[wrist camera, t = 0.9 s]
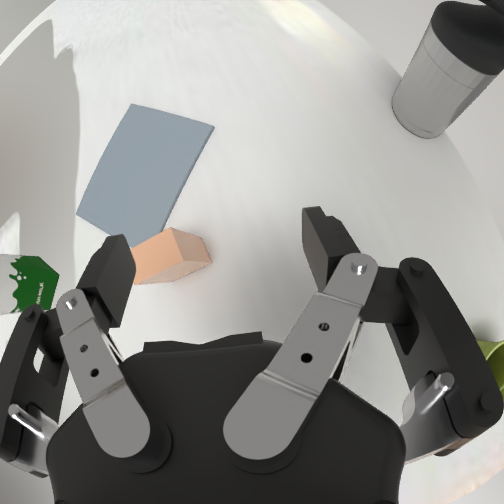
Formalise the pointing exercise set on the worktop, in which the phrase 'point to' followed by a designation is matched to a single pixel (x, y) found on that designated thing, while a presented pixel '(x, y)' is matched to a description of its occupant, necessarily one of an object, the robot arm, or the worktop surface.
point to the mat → (142, 173)
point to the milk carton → (25, 283)
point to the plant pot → (495, 360)
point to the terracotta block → (169, 257)
